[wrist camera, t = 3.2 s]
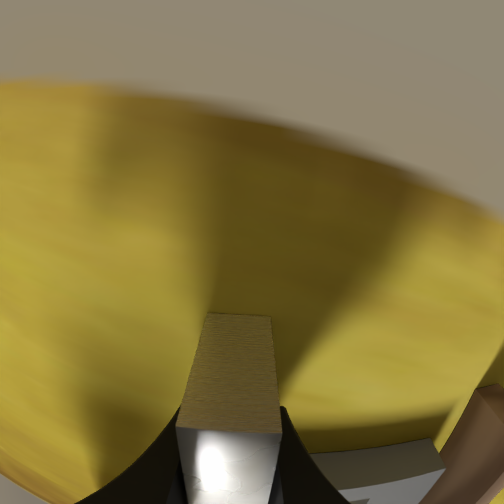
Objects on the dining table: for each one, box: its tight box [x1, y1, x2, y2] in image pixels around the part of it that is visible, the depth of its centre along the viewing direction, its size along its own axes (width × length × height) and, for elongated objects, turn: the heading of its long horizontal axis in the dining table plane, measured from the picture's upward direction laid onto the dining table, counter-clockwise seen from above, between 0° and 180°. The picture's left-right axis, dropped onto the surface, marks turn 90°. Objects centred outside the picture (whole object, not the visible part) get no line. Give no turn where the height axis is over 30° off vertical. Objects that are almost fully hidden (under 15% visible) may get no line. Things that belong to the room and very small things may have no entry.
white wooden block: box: [175, 313, 282, 504], centre depth 9 cm, size 2×7×6 cm, turn 177°
